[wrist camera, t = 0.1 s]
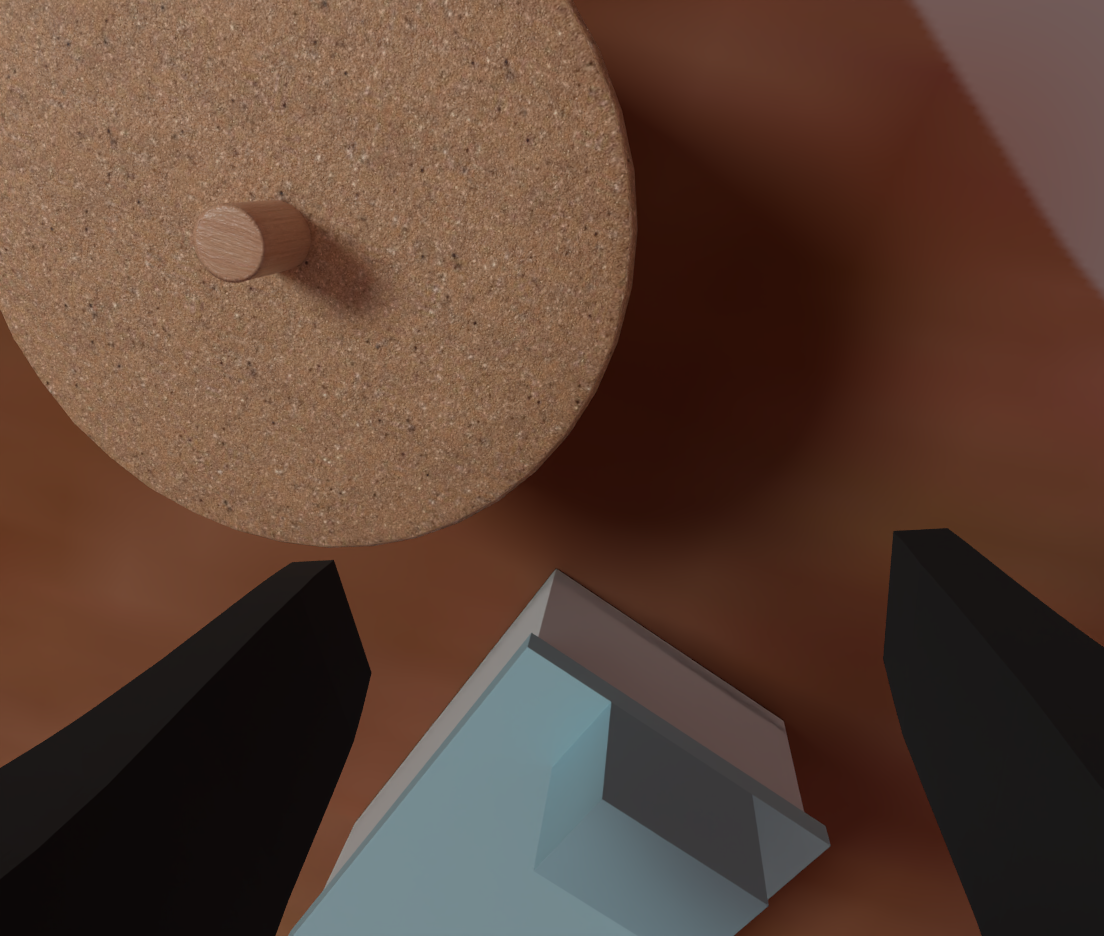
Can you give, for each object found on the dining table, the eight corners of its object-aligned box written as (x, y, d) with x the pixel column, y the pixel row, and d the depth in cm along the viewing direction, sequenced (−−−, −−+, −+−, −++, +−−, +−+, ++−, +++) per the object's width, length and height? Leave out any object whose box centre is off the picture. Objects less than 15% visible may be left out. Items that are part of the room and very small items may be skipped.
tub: (552, 944, 27) (535, 1067, 23) (354, 823, 26) (304, 930, 23) (783, 720, 23) (807, 827, 19) (556, 568, 22) (535, 648, 18)
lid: (541, 1049, 24) (517, 1226, 20) (302, 906, 24) (227, 1060, 19) (819, 801, 20) (860, 964, 16) (536, 614, 19) (502, 735, 15)
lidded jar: (567, 476, 21) (501, 687, 12) (189, 349, 21) (-138, 470, 13) (714, 42, 17) (768, -92, 9) (249, -110, 17) (-166, -396, 9)
